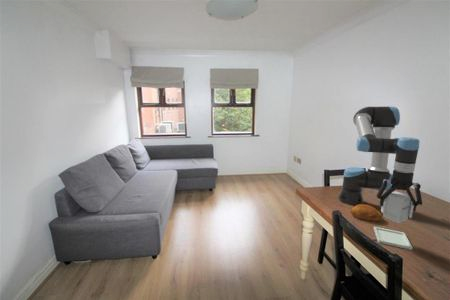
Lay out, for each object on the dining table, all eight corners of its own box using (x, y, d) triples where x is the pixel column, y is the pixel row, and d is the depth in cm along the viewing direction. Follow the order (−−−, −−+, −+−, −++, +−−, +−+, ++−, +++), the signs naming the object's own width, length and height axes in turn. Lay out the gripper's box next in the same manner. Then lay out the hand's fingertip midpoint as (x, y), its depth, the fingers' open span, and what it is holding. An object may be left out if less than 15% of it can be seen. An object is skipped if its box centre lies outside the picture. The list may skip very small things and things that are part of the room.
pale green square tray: (373, 228, 117) (373, 226, 116) (403, 234, 111) (404, 232, 111) (378, 242, 105) (378, 240, 105) (412, 250, 100) (412, 247, 99)
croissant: (380, 228, 121) (385, 216, 119) (349, 217, 128) (353, 206, 126) (378, 216, 133) (382, 205, 131) (350, 207, 140) (353, 196, 138)
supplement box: (399, 224, 101) (403, 198, 98) (382, 216, 108) (386, 193, 105) (408, 220, 104) (412, 196, 101) (391, 213, 110) (395, 190, 108)
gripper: (376, 169, 102) (369, 212, 107) (438, 176, 93) (428, 223, 97) (373, 165, 109) (367, 206, 113) (431, 171, 99) (422, 215, 104)
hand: (395, 214), depth 105 cm, fingers closed on supplement box, 10 cm apart
